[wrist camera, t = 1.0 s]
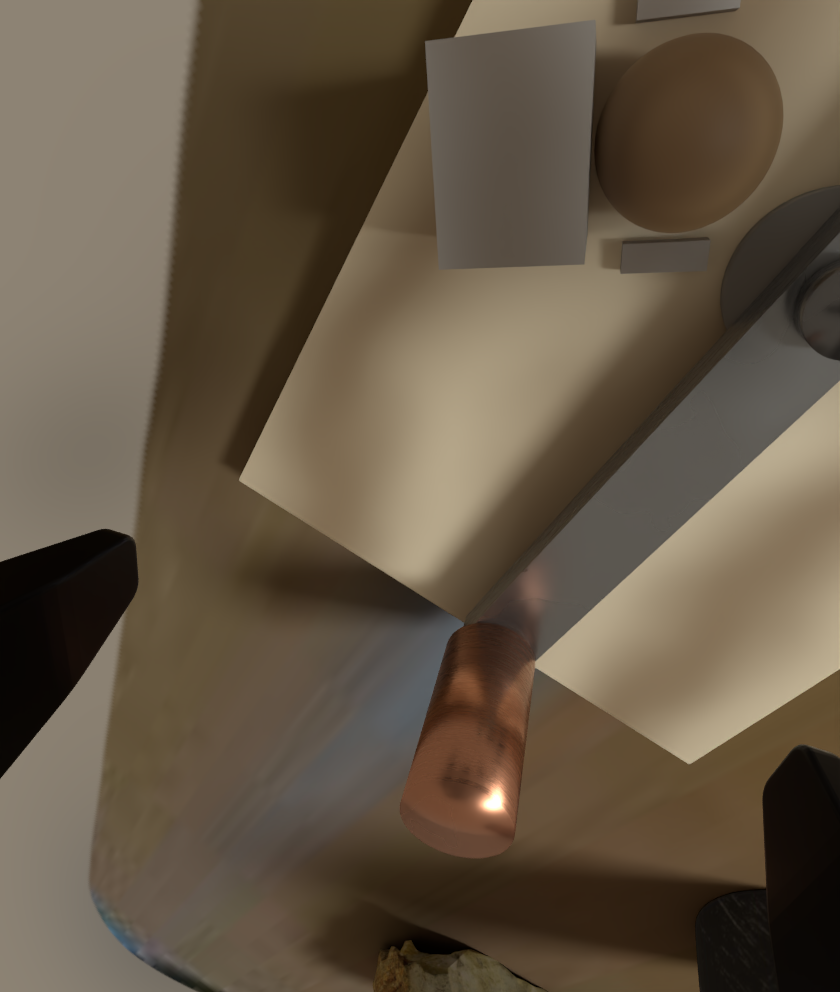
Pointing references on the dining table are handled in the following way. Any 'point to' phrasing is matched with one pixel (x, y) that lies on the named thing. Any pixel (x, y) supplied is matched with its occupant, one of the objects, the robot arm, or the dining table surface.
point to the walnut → (688, 132)
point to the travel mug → (735, 944)
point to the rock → (443, 972)
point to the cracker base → (574, 362)
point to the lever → (615, 544)
